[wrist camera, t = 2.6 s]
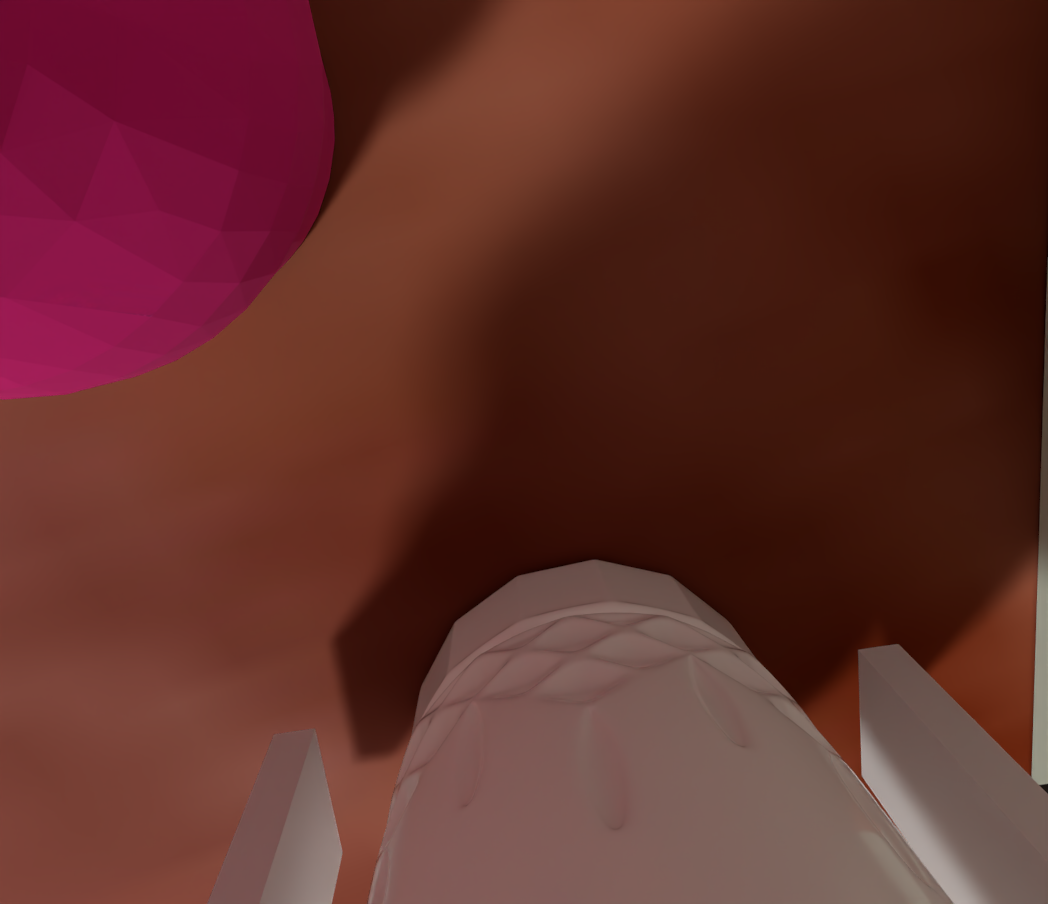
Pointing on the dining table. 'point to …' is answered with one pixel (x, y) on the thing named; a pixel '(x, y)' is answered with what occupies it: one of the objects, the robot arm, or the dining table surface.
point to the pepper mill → (148, 177)
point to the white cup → (625, 764)
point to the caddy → (1042, 602)
